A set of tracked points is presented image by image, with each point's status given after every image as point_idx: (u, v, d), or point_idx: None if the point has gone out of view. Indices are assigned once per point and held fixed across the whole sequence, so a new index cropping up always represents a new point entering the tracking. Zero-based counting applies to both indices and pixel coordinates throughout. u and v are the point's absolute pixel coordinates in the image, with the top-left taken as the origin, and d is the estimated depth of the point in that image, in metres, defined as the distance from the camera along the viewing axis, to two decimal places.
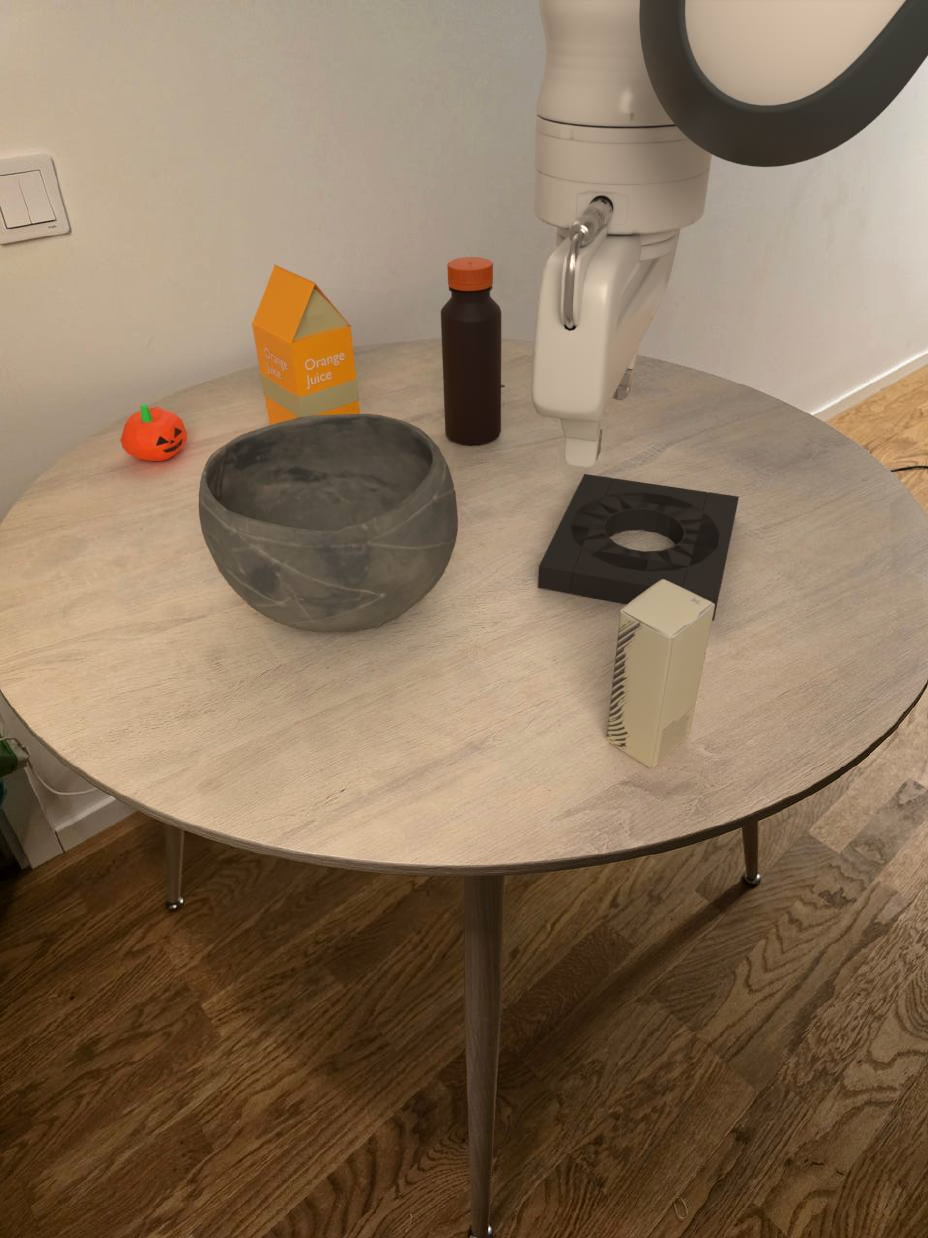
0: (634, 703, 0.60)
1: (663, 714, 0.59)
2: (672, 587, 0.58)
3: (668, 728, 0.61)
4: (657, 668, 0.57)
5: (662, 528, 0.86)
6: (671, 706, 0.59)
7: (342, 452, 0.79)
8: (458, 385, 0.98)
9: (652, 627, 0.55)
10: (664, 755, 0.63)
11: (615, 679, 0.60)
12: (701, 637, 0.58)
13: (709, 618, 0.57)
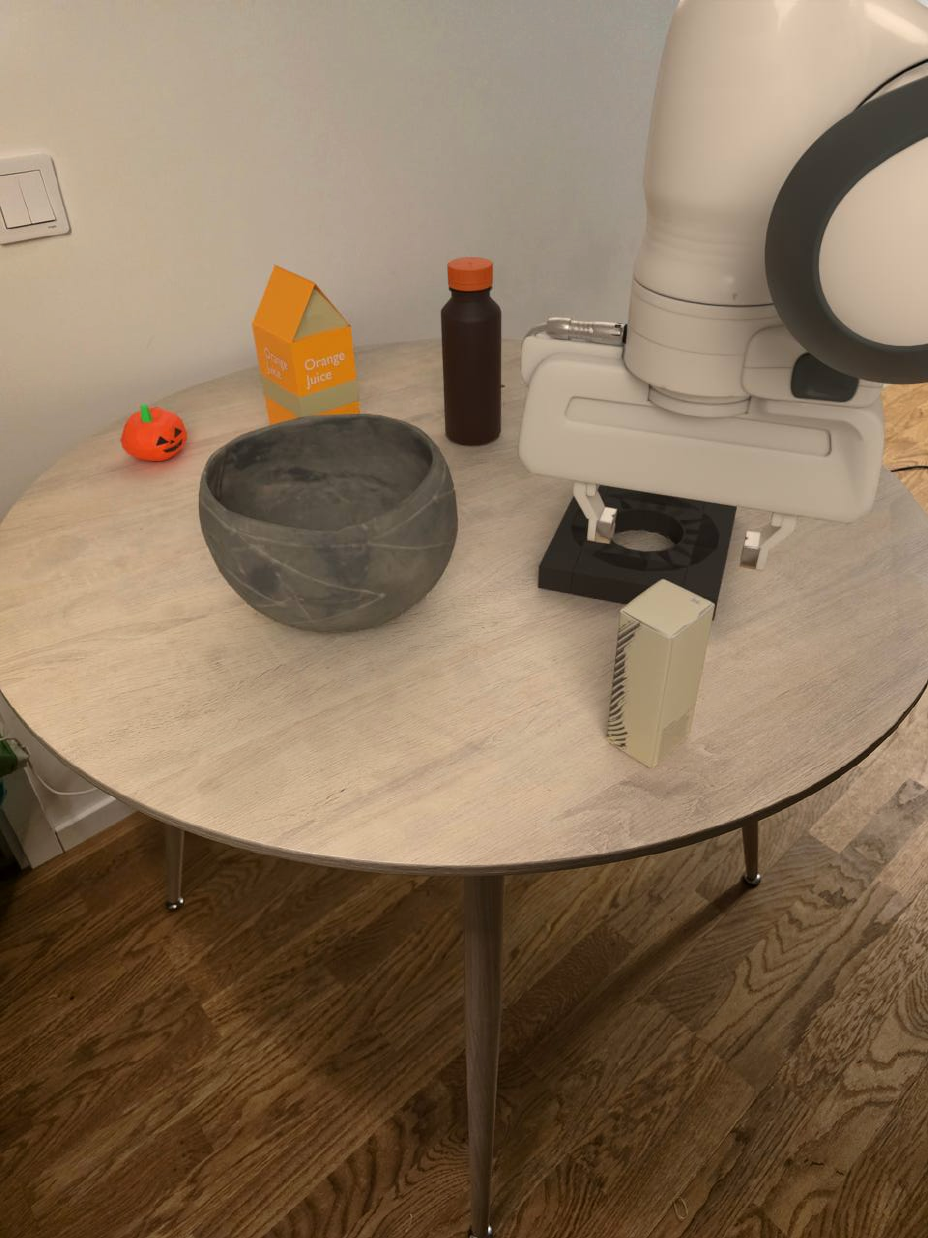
0: (634, 703, 0.60)
1: (663, 714, 0.59)
2: (672, 587, 0.58)
3: (668, 728, 0.61)
4: (657, 668, 0.57)
5: (662, 528, 0.86)
6: (671, 706, 0.59)
7: (342, 452, 0.79)
8: (458, 385, 0.98)
9: (652, 627, 0.55)
10: (664, 755, 0.63)
11: (615, 679, 0.60)
12: (700, 637, 0.58)
13: (709, 618, 0.57)
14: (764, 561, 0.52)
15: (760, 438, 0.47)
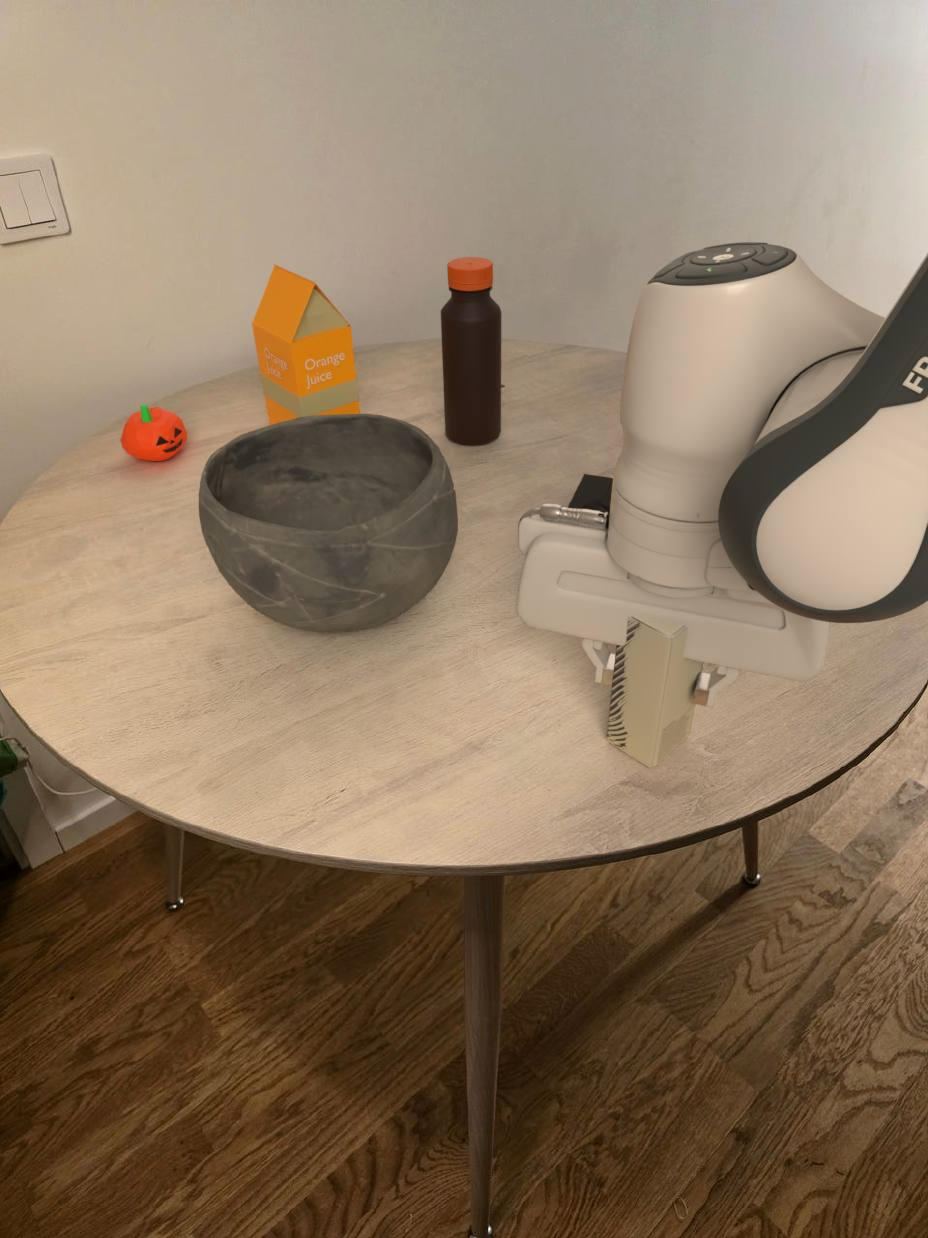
0: (633, 703, 0.60)
1: (663, 714, 0.59)
2: None
3: (668, 728, 0.61)
4: (656, 668, 0.57)
5: None
6: (671, 705, 0.59)
7: (342, 452, 0.79)
8: (458, 385, 0.98)
9: (651, 627, 0.55)
10: (664, 755, 0.63)
11: (615, 679, 0.60)
12: None
13: None
14: (713, 701, 0.59)
15: (725, 611, 0.54)
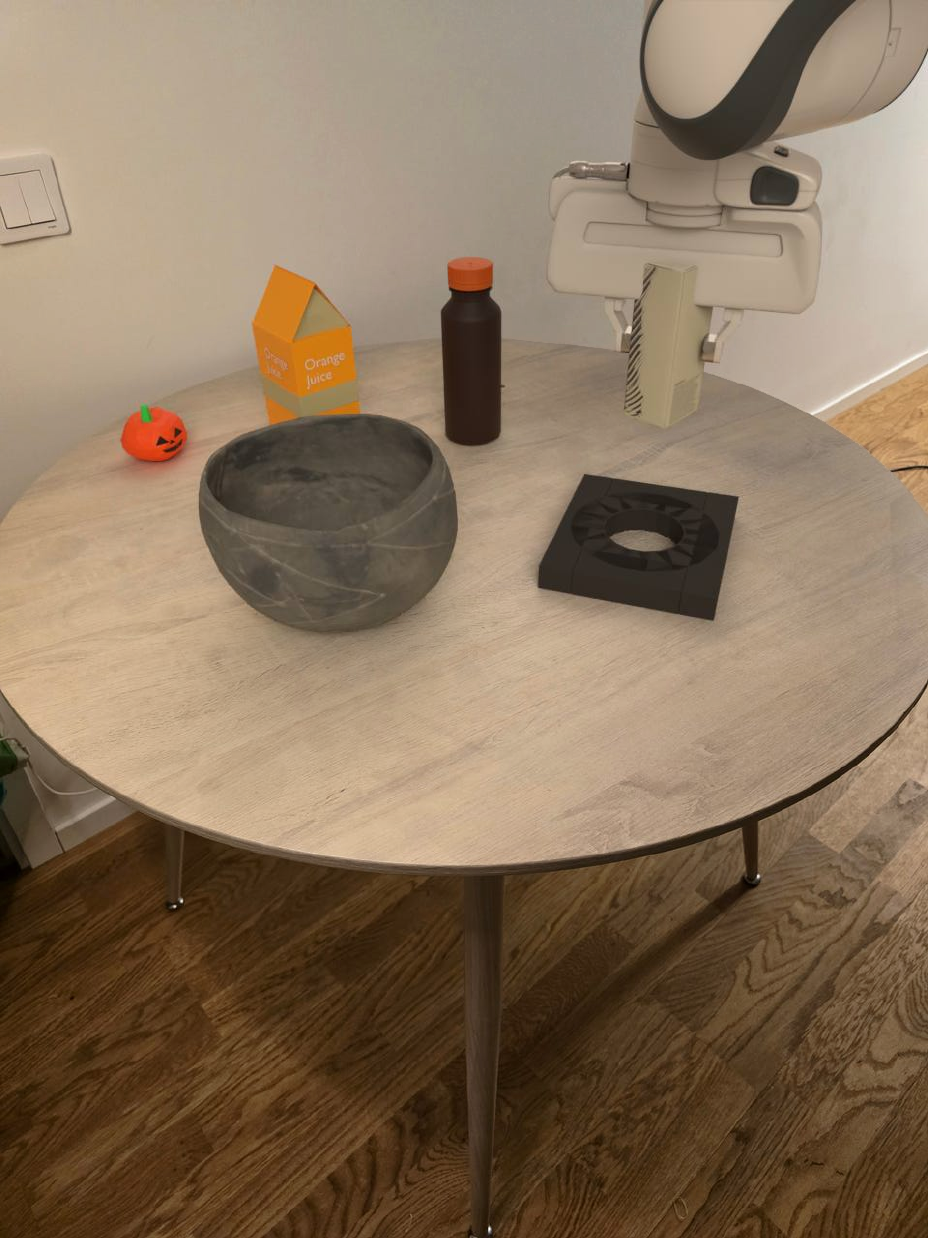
0: (649, 359, 0.68)
1: (675, 363, 0.67)
2: None
3: (679, 385, 0.69)
4: (670, 310, 0.65)
5: (662, 528, 0.86)
6: (682, 357, 0.67)
7: (342, 452, 0.79)
8: (458, 385, 0.98)
9: (666, 268, 0.64)
10: (675, 419, 0.71)
11: (632, 340, 0.69)
12: None
13: None
14: (719, 353, 0.68)
15: (730, 246, 0.62)
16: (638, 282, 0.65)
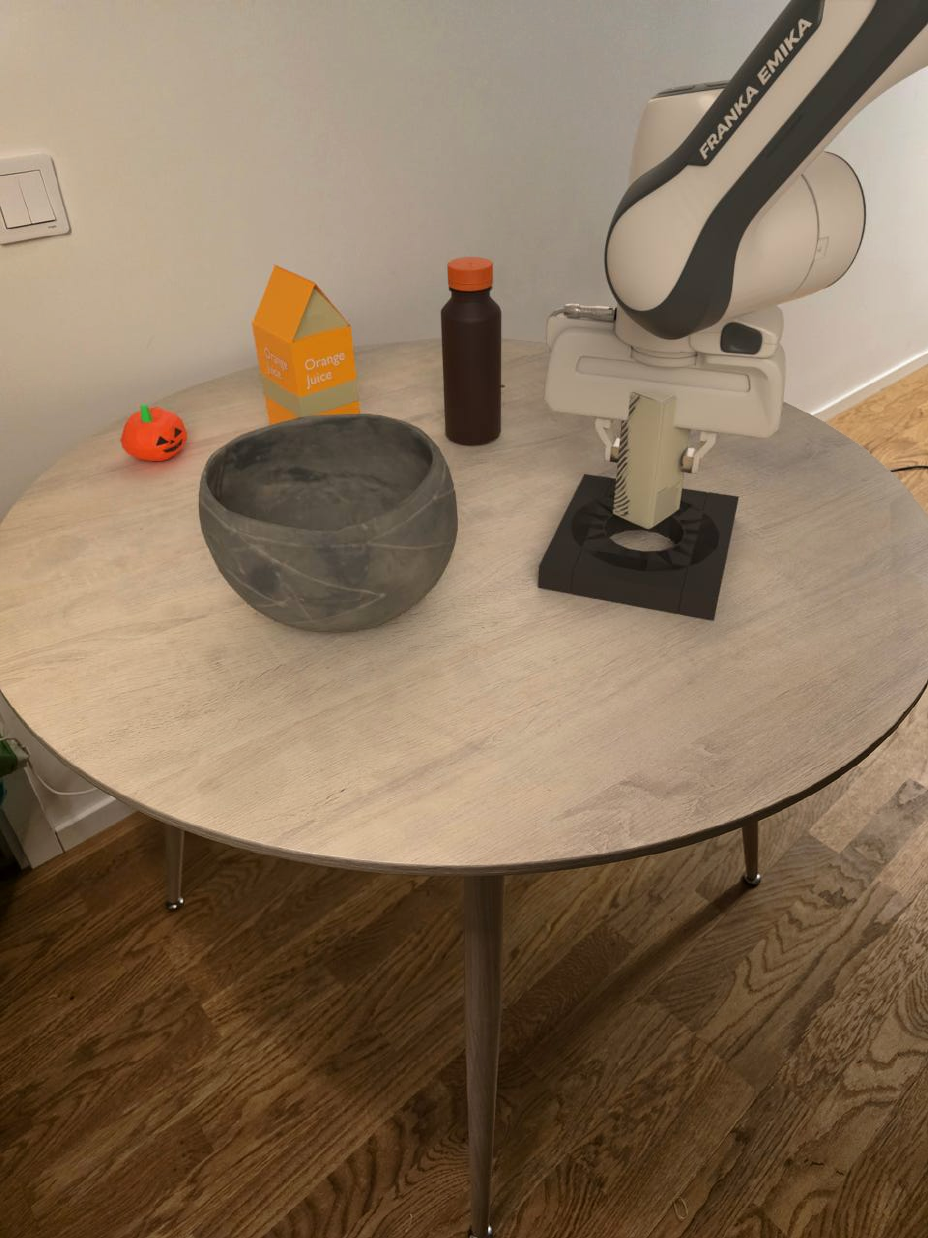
0: (635, 470, 0.77)
1: (657, 476, 0.76)
2: None
3: (662, 493, 0.78)
4: (652, 433, 0.74)
5: (662, 528, 0.86)
6: (663, 470, 0.76)
7: (342, 452, 0.79)
8: (458, 385, 0.98)
9: (648, 398, 0.72)
10: (658, 520, 0.80)
11: (620, 453, 0.77)
12: None
13: None
14: (697, 466, 0.76)
15: (704, 381, 0.71)
16: (624, 407, 0.74)
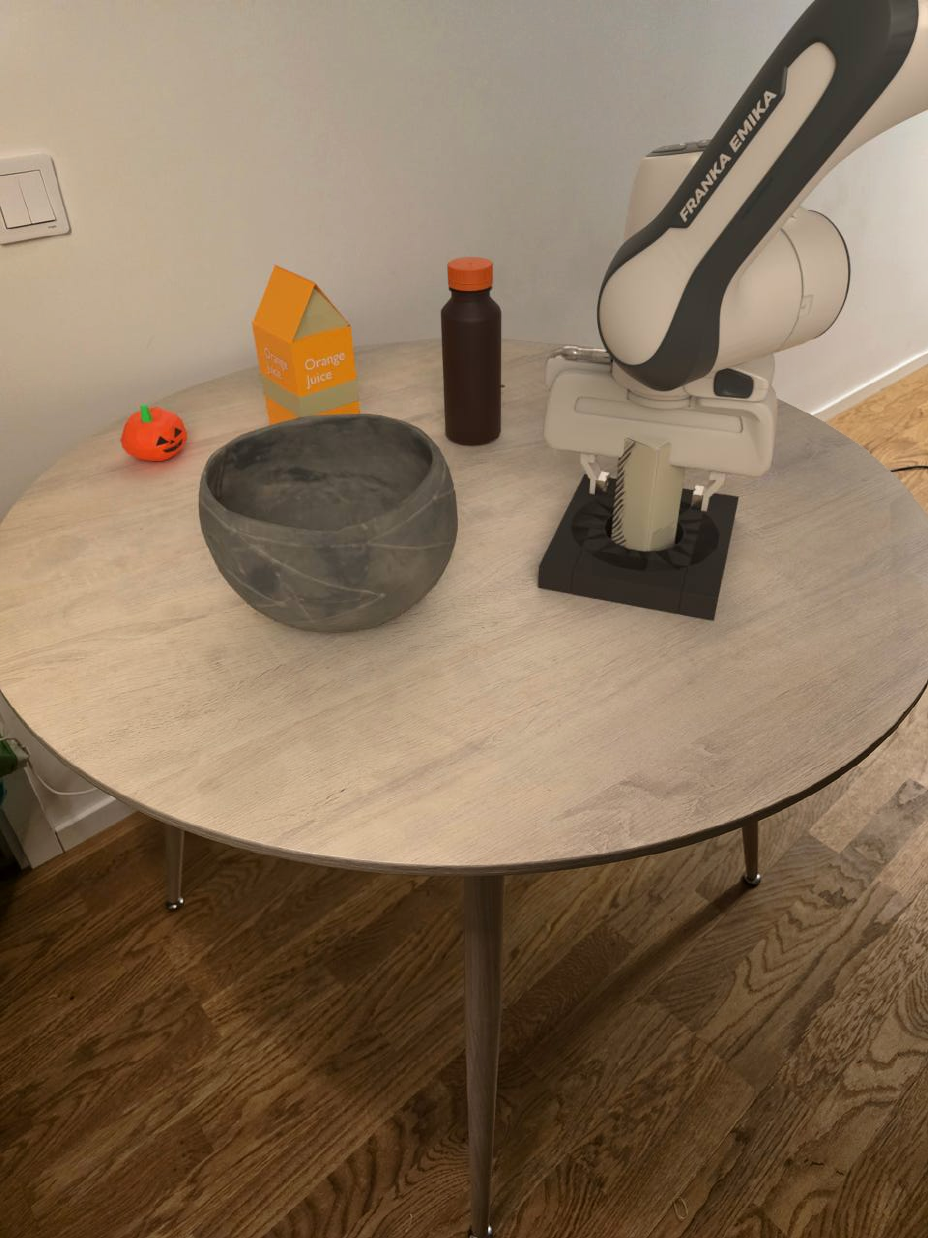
0: (631, 512, 0.80)
1: (653, 518, 0.79)
2: None
3: (657, 533, 0.81)
4: (647, 477, 0.76)
5: None
6: (658, 512, 0.79)
7: (342, 452, 0.79)
8: (458, 385, 0.98)
9: (643, 444, 0.75)
10: None
11: (616, 495, 0.80)
12: None
13: None
14: (706, 504, 0.78)
15: (698, 422, 0.73)
16: (621, 445, 0.77)
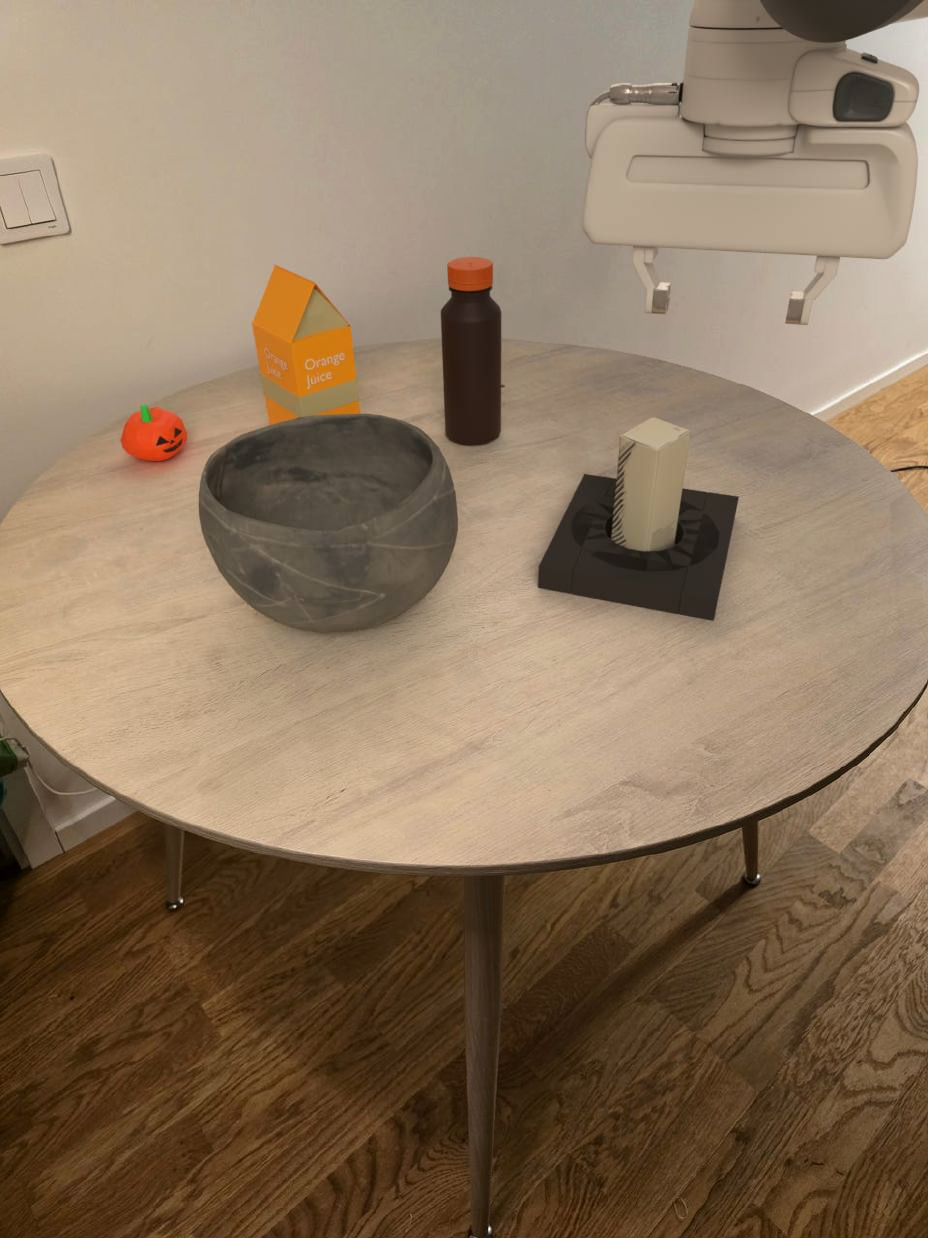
0: (631, 512, 0.80)
1: (653, 518, 0.79)
2: (659, 421, 0.78)
3: (657, 533, 0.81)
4: (647, 478, 0.76)
5: None
6: (658, 512, 0.79)
7: (342, 452, 0.79)
8: (458, 385, 0.98)
9: (643, 444, 0.75)
10: None
11: (616, 495, 0.80)
12: (680, 457, 0.77)
13: (686, 441, 0.77)
14: (808, 312, 0.57)
15: (804, 178, 0.52)
16: (692, 227, 0.55)
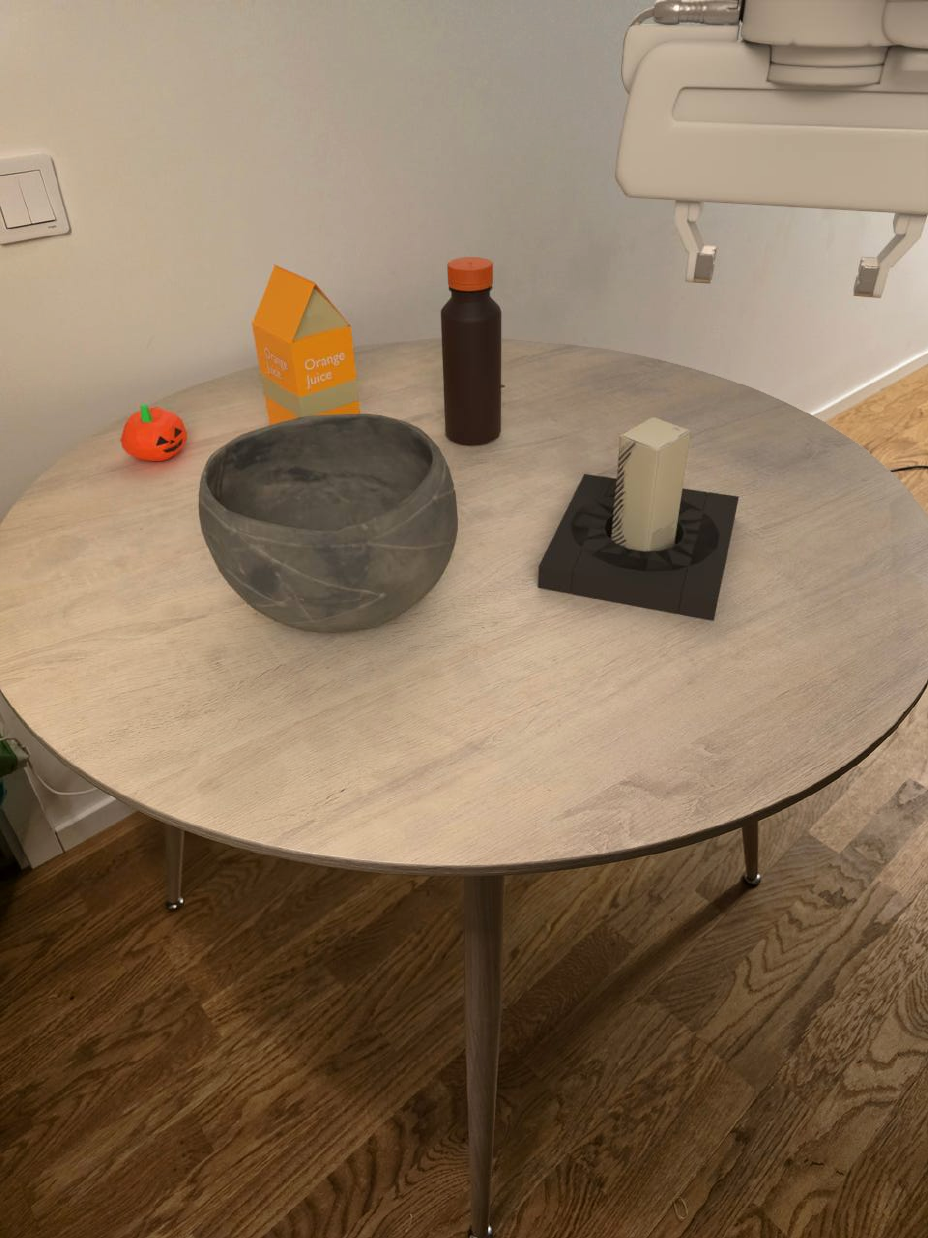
0: (631, 512, 0.80)
1: (653, 518, 0.79)
2: (659, 421, 0.78)
3: (657, 533, 0.81)
4: (647, 478, 0.76)
5: None
6: (658, 512, 0.79)
7: (342, 452, 0.79)
8: (458, 385, 0.98)
9: (643, 444, 0.75)
10: None
11: (616, 495, 0.80)
12: (680, 457, 0.77)
13: (686, 441, 0.77)
14: (883, 283, 0.48)
15: (891, 116, 0.43)
16: (749, 177, 0.46)
